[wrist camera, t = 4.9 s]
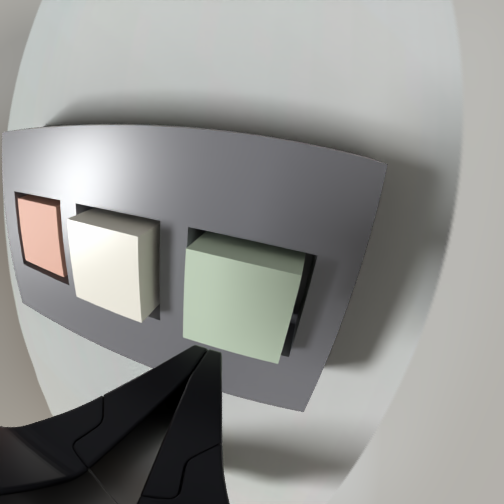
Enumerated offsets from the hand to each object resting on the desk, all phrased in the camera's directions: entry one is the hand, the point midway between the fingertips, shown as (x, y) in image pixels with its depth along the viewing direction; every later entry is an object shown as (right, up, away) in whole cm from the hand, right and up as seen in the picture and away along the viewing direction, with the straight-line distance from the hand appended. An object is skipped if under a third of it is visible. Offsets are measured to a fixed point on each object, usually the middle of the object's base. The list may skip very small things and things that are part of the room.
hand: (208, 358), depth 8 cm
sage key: (+1, +2, +4) cm, 5 cm away
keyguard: (-4, +4, +7) cm, 9 cm away
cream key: (-5, +3, +5) cm, 8 cm away
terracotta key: (-10, +5, +7) cm, 13 cm away
